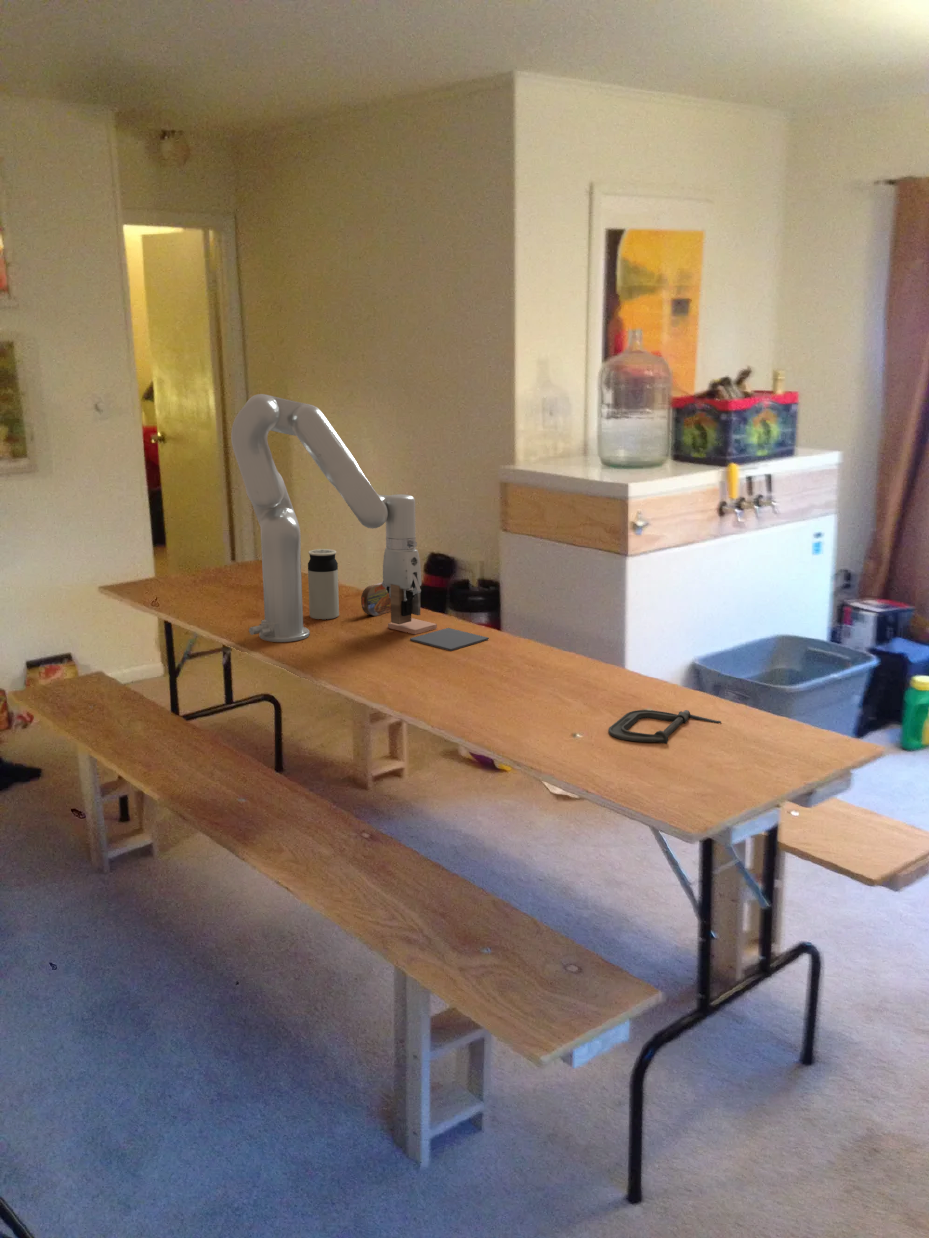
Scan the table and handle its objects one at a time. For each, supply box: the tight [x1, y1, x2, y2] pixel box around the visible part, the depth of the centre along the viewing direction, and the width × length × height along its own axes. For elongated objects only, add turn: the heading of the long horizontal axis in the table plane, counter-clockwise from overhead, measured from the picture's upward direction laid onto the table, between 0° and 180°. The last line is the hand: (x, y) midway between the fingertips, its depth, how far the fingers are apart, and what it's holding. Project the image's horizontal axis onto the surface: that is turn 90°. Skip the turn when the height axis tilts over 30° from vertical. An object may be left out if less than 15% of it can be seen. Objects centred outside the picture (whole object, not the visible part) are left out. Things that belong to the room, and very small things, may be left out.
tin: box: [360, 582, 391, 617], centre depth 294 cm, size 15×3×8 cm, turn 143°
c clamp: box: [607, 709, 722, 745], centre depth 207 cm, size 20×17×3 cm
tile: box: [387, 617, 438, 635], centre depth 279 cm, size 2×10×8 cm
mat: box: [409, 627, 490, 652], centre depth 268 cm, size 14×14×1 cm
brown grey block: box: [390, 584, 421, 624], centre depth 275 cm, size 5×8×10 cm, turn 48°
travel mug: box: [307, 548, 340, 621], centre depth 288 cm, size 8×8×18 cm
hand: (401, 613), depth 275 cm, fingers closed on brown grey block, 3 cm apart
